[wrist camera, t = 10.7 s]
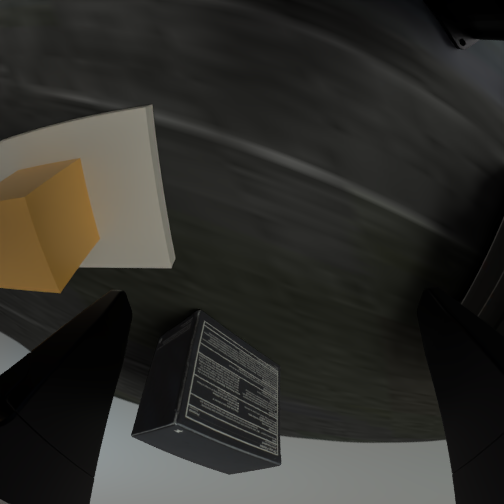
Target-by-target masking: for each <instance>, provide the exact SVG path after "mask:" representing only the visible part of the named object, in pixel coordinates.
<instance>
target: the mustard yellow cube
mask: <svg viewBox="0 0 504 504" xmlns="http://www.w3.org/2000/svg"><path fill="white" fill-rule="evenodd" d="M99 240H100V237H99V234H98V230H97V226H96V223H95V219H94V215H93V211H92V208H91V204H90V200H89V196H88V191H87V187H86V183H85V178H84V174H83V169H82V164H81V159H80V158H78V159H72V160H66V161H60V162H55V163H50V164H44V165H39V166H35V167H30V168H25V169H21V170H18V171H16V172H14V173H13V174H11V175H10V176H8V177H7V178H5V179H4V180H2V181H1V182H0V288H8V289H18V290H29V291H40V292H53V293H61V291H62V290H63V288H64V287H65V286H66V284H67V283H68V281H69V280H70V278H71V277H72V276H73V274H74V273H75V271H76V270H77V269H78V267H79V266H80V265H81V263H82V262H83V261H84V259H85V258H86V256H87V255H88V254H89V253H90V251H91V250H92V249H93V247H94V246H95V245H96V243H97V242H98V241H99Z"/></svg>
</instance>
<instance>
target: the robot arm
mask: <svg viewBox="0 0 504 504" xmlns="http://www.w3.org/2000/svg"><path fill="white" fill-rule="evenodd" d="M424 1H425V3H426V4H427V5H428V7H429V8H430V9H431V11H432V12H433V14H434V15H435V16H436V18H437V19H438V21H439V22H440V24H441V25H442V27H443V28H444V30H445V31H446V33H447V34H448V36H449V37H450V39H451V40H452V42H453V44H454V45H455V46H456V48H458V49H461V50H465V49H467V48H469V47H470V46H471V45H473V44H474V43H476V42H477V41H479V40H480V39H481V40H503V41H504V0H424ZM460 39H461V41H462V45H461V44H460V42H459V40H460ZM417 316H418V320H419V325H420V330H421V335H422V340H423V345H424V350H425V355H426V359H427V363H428V366H429V370H430V373H431V377H432V381H433V384H434V388H435V392H436V396H437V400H438V404H439V408H440V413H441V417H442V422H443V426H444V431H445V436H446V441H447V446H448V452H449V457H450V463H451V469H452V473H453V474H452V477H453V484H454V492H455V501H456V504H504V336H503V335H501V334H500V333H499V332H497V331H496V330H495V329H494V328H492V327H491V326H490V325H488V324H487V323H486V322H485V321H483V320H482V319H481V318H479V317H478V316H477V315H475V314H474V313H473V312H471V311H470V310H469V309H467V308H466V307H465V306H463V305H462V304H460V303H459V302H458V301H456V300H455V299H454V298H452V297H451V296H449V295H448V294H447V293H445V292H444V291H442V290H441V289H440V288H438V287H428V288H426V289H425V290H424V292H423V295H422V297H421V300H420V303H419V306H418V309H417ZM131 321H132V310H131V307H130V304H129V301H128V298H127V295H126V293H125V292H124V291H123V290H111V291H109V292H108V293H107V294H105V295H104V296H103V297H101V298H100V299H98V300H97V301H96V302H94V303H93V304H92V305H90V306H89V307H88V308H86V309H85V310H84V311H82V312H81V313H80V314H78V315H77V316H76V317H75V318H73V319H72V320H71V321H69V322H68V323H67V324H65V325H64V326H63V327H61V328H60V329H59V330H58V331H56V332H55V333H54V334H52V335H51V336H50V337H49V338H47V339H46V340H45V341H44V342H42V343H41V344H40V345H38V346H37V347H36V348H35V349H33V350H32V351H31V353H28V354H27V355H26V356H25V357H24V358H23V359H21V360H20V361H18V362H17V363H16V364H15V365H13V366H12V367H11V368H9V369H8V370H7V371H5V372H4V373H3V374H1V375H0V504H90V498H91V493H92V487H93V482H94V478H93V477H94V476H95V471H96V466H97V461H98V457H99V453H100V448H101V444H102V439H103V435H104V431H105V427H106V423H107V419H108V415H109V411H110V408H111V404H112V400H113V396H114V393H115V389H116V385H117V382H118V378H119V375H120V372H121V368H122V365H123V361H124V356H125V351H126V346H127V341H128V336H129V331H130V326H131Z"/></svg>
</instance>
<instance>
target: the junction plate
mask: <svg viewBox="0 0 504 504" xmlns="http://www.w3.org/2000/svg"><path fill="white" fill-rule="evenodd" d="M78 158H80V159H81V164H82V169H83V174H84V178H85V183H86V187H87V191H88V196H89V200H90V204H91V208H92V211H93V215H94V219H95V223H96V226H97V230H98V234H99V237H100V240H99V241H98V242H97V243H96V245H95V246H94V247H93V249H92V250H91V251H90V253H89V254H88V255H87V256H86V258H85V259H84V261H83V262H82V263H81V265H80V266H79V267H103V268H172V266H173V263H174V261H175V254H174V248H173V243H172V238H171V232H170V227H169V221H168V215H167V209H166V203H165V197H164V191H163V184H162V178H161V171H160V164H159V156H158V149H157V141H156V133H155V125H154V116H153V107H152V105H146V106H139V107H133V108H127V109H121V110H116V111H110V112H105V113H100V114H95V115H90V116H86V117H81V118H77V119H73V120H69V121H65V122H61V123H57V124H53V125H49V126H46V127H42V128H38V129H35V130H32V131H28V132H25V133H22V134H19V135H15V136H12V137H9V138H6V139H3V140H1V141H0V182H1V181H2V180H4V179H5V178H7V177H8V176H10V175H11V174H13V173H14V172H16V171H18V170H21V169H25V168H30V167H35V166H39V165H44V164H50V163H55V162H60V161H66V160H72V159H78Z"/></svg>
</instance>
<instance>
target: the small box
mask: <svg viewBox="0 0 504 504" xmlns="http://www.w3.org/2000/svg"><path fill="white" fill-rule="evenodd" d="M131 436H132V437H134V438H136V439H138V440H140V441H143V442H145V443H147V444H149V445H152V446H154V447H156V448H158V449H161V450H163V451H166V452H168V453H170V454H173V455H175V456H178V457H180V458H183V459H185V460H188V461H191V462H193V463H196V464H199V465H202V466H205V467H208V468H211V469H213V470H217V471H220V472H223V473H226V474H235V473H242V472H248V471H254V470H260V469H265V468H270V467H275V466H280V465H281V454H280V366H279V365H278V364H276V363H275V362H273V361H272V360H270V359H269V358H267V357H266V356H265V355H263V354H262V353H260V352H259V351H257V350H256V349H255V348H253V347H252V346H250V345H249V344H247V343H246V342H244V341H243V340H242V339H240V338H239V337H238V336H236V335H235V334H233V333H232V332H230V331H229V330H228V329H226V328H225V327H224V326H222V325H221V324H220V323H218V322H217V321H215V320H214V319H213V318H211V317H210V316H209V315H207V314H206V313H205V312H203V311H202V310H198V311H196V312H194V313H193V314H192V315H191V316H190V317H188V318H186V319H185V320H184V321H183V322H181V323H180V324H178V325H177V326H175V327H174V328H172V329H171V330H168V331H167V332H166V333H165V334H164V335H163V336H161V337H160V338H159V341H158V344H157V347H156V351H155V354H154V357H153V361H152V364H151V367H150V371H149V374H148V378H147V381H146V384H145V388H144V391H143V394H142V398H141V402H140V405H139V408H138V412H137V416H136V420H135V423H134V427H133V431H132V434H131Z"/></svg>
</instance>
